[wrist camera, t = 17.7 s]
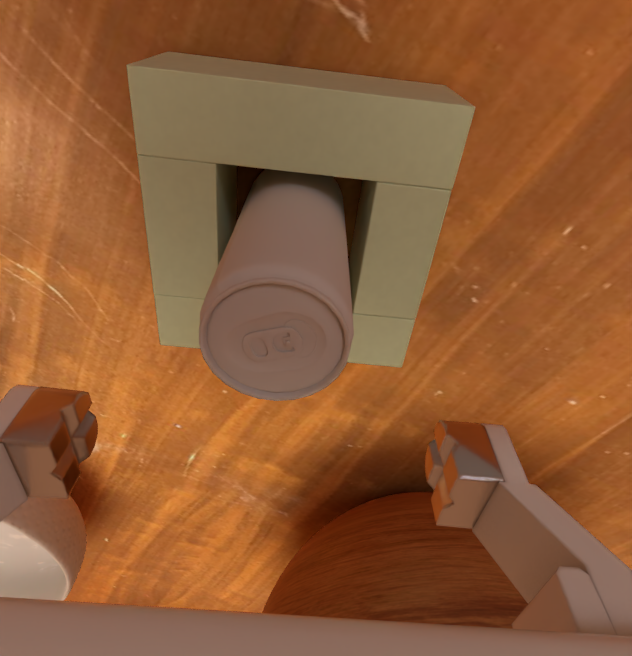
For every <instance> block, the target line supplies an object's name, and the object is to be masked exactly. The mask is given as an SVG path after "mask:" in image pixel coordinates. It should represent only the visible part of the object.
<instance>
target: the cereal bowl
mask: <svg viewBox="0 0 632 656" xmlns="http://www.w3.org/2000/svg"><path fill="white" fill-rule="evenodd" d="M85 530H86V528H85V525H84V519H83V518H82V514H81V512H80V510H79V507H78V506H77V505H76V503H75V501H74V499H73V498H72V497H71V495H70V496H69V498H68V499H65V498H43V497H28V500H27V501H26V502H24V503H23V504H22V505H21V506H19V507H18V508H17V509H16V510H15V511H13V512H12V513H11V514H10V515H9V516H7V517H6V518H5V519H4V520H2V521H1V522H0V597H11V598H27V599H43V600H59V601H64V600H65V599H66V597H67V596H68V594H69V592H70V591H71V589H72V586H73V584H74V582H75V580H76V578H77V575H78V572H79V571H80V568H81V565H82V562H83V559H84V554H85V551H86V543H87V541H86V536H87V534H86V531H85Z"/></svg>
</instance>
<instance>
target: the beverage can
mask: <svg viewBox="0 0 632 656" xmlns="http://www.w3.org/2000/svg"><path fill="white" fill-rule="evenodd" d="M353 336H354V327H353V313H352V301H351V288H350V276H349V264H348V252H347V240H346V228H345V216H344V204H343V195H342V192H341V190H340V187H339V184H338V183H337V181H336V180H335V178H334V177H333V176H324V175H316V174H307V173H298V172H289V171H280V170H271V169H265V170H264V171H263V172H262V173H260V175H259V176H258V177H257V179H256V180H255V181H254V182H253V184H252V187H251V189H250V191H249V194H248V196H247V199H246V201H245V204H244V206H243V208H242V211H241V213H240V216H239V218H238V221H237V223H236V226H235V228H234V231H233V233H232V235H231V238H230V240H229V242H228V244H227V247H226V249H225V251H224V254H223V256H222V258H221V261H220V263H219V265H218V268H217V270H216V272H215V275H214V277H213V280H212V282H211V285H210V287H209V289H208V292H207V294H206V297H205V300H204V303H203V305H202V308H201V311H200V326H199V346H200V349H201V352H202V355H203V358H204V360H205V362H206V363H207V365H208V366H209V368H210V369H211V370H212V372H213V373H214V374H215V375H216V376H217V377H218V378H219V379H221V380H222V381H223V382H224V383H225V384H226V385H228V386H230V387H232V388H233V389H235V390H237V391H239V392H240V393H243V394H246V395H249V396H252V397H255V398H258V399H266V400H274V401H282V400H295V399H299V398H303V397H306V396H310V395H313V394H314V393H316V392H318V391H320V390H322V389H324V388H326V387H327V386H328V385H329V384H331V383H332V382H333V381H334V380H335V379H336V378H337V377H338V376H339V375H340V373H341V372H342V370H343V368H344V367H345V365H346V364H347V360H348V356H349V352H350V348H351V343H352V340H353Z"/></svg>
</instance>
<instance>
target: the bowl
mask: <svg viewBox="0 0 632 656" xmlns="http://www.w3.org/2000/svg"><path fill="white" fill-rule="evenodd" d="M432 494H433V492H410V493H400V494H394V495H389V496H385V497H381V498H378V499H374V500H371V501H368V502H366V503H363V504H361V505H359V506H356V507H354V508H352V509H350V510H348V511H346V512H345V513H343V514H341V515H340V516H338V517H337V518H335V519H334V520H332V521H331V522H329V523H328V524H327V525H325V526H324V527H323V528H322V529H320V530H319V531H318V532H317V533H316V534H315V535H313V536H312V537H311V538H310V539H309V540H308V541H307V542H306V543H305V544H304V546H303V547H302V548H301V549H300V550H299V551H298V552H297V554H296V555H295V556H294V557H293V559H292V560H291V561H290V563H289V564H288V565H287V567H286V568H285V570H284V571H283V573H282V575H281V576H280V578H279V579H278V581H277V583H276V585H275V587H274V588H273V590H272V592H271V594H270V596H269V598H268V601H267V603H266V605H265V607H264V610H263V612H262V613H269V614H285V615H301V616H317V617H333V618H349V619H365V620H381V621H397V622H413V623H429V624H445V625H461V626H477V627H493V628H509V629H513V628H512V623H513V622H514V620H515V619H516V618H517V617H518V615H519V614H520V613H521V612H522V611H523V609H524V608H525V607H526V606H527V605H528V603H527V602H526V601H525V599H524V598H523V597H522V595H521V594H520V593H519V591H518V590H517V589H516V588H515V586H514V585H513V584H512V582H511V581H510V580H509V578H508V577H507V576H506V575H505V573H504V572H503V571H502V569H501V568H500V567H499V565H498V564H497V563H496V562H495V560H494V559H493V558H492V556H491V555H490V554H489V552H488V551H487V550H486V549H485V547H484V546H483V545H482V543H481V542H480V541H479V539H478V538H477V537H476V536H475V534H474V533H473V532H472V529H469V528H458V527H448V526H438V525H436V523H435V518H434V513H433V509H432V504H431V497H432Z"/></svg>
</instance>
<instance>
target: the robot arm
mask: <svg viewBox="0 0 632 656" xmlns="http://www.w3.org/2000/svg"><path fill="white" fill-rule="evenodd" d="M91 404H92V401H91V398H90V395H89V393H88V392H84V391H76V390H67V389H58V388H48V387H36V386H26V385H17V386H15V387H13V388H11V389H10V390H9V392H8V393H7V394H6V395H5V397H4V398H3V399H2V400H1V402H0V522H1V521H2V520H4V519H5V518H6V517H7V516H9V515H10V514H11V513H12V512H13V511H15V510H16V509H17V508H18V507H19V506H21V505H22V504H23V503H24V502H26V501H27V500H28V497H43V498H65V499H68V498H69V496H70V494H71V492H72V490H73V488H74V486H75V484H76V482H77V480H78V478H79V476H80V474H81V471H80V468H79V463H81V462H82V461H84V460H85V459H87V458H88V457H90V455H91V452H92V450H93V448H94V446H95V443H96V438H97V434H98V424H97V420H96V416H94V415H93V414H92V413H91V412H90V411H89V408H90V406H91ZM434 436H435V440H433V441H432V442H430V443H429V444H428V447H427V450H426V454H425V475H426V480H427V483H428V484H429V485H430V486H431V487H432V488H433V489H434V492H433V494H432V497H431V504H432V509H433V513H434V518H435V523H436V525H438V526H448V527H458V528H469V529H472V532H473V533H474V534H475V536H476V537H477V538H478V539H479V541H480V542H481V543H482V545H483V546H484V547H485V549H486V550H487V551H488V552H489V554H490V555H491V556H492V558H493V559H494V560H495V562H496V563H497V564H498V565H499V567H500V568H501V569H502V571H503V572H504V573H505V575H506V576H507V577H508V578H509V580H510V581H511V582H512V584H513V585H514V586H515V588H516V589H517V590H518V591H519V593H520V594H521V595H522V597H523V598H524V599H525V601H526V602H527V603H528V605H527V606H526V607H525V608H524V609H523V611H522V612H521V613H520V614H519V615H518V617H517V618H516V619H515V620H514V622H513V623H512V628H513V629H509V628H493V627H477V626H461V625H445V624H429V623H413V622H397V621H381V620H365V619H349V618H333V617H317V616H301V615H285V614H269V613H253V612H237V611H221V610H205V609H189V608H173V607H157V606H140V605H124V604H108V603H92V602H76V601H59V600H43V599H27V598H11V597H0V656H632V570H631V569H630V568H629V567H628V566H626V565H625V564H624V563H623V562H622V561H621V560H620V559H619V558H617V557H616V556H615V555H614V554H613V553H612V552H611V551H610V550H608V549H607V548H606V547H605V546H604V545H603V544H602V543H601V542H600V541H598V540H597V539H596V538H595V537H594V536H593V535H592V534H591V533H589V532H588V531H587V530H586V529H585V528H584V527H583V526H582V525H580V524H579V523H578V522H577V521H576V520H575V519H574V518H573V517H571V516H570V515H569V514H568V513H567V512H566V511H565V510H564V509H562V508H561V507H560V506H559V505H558V504H557V503H556V502H555V501H554V500H552V499H551V498H550V497H549V496H548V495H547V494H546V493H545V492H543V491H542V490H541V489H540V488H539V487H538V486H537V485H535V484H529V482H528V480H527V477H526V475H525V472H524V470H523V468H522V465H521V463H520V461H519V458H518V456H517V454H516V451H515V449H514V447H513V444H512V442H511V439H510V437H509V435H508V432H507V430H506V428H505V427H504V426H503V425H494V424H479V423H469V422H455V421H441V420H439V422H438V423H437V424H436V426H435V428H434Z"/></svg>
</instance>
